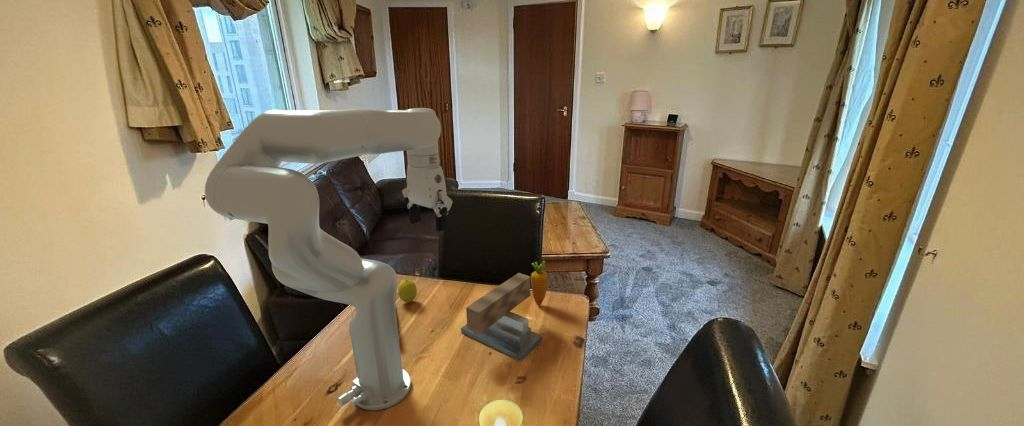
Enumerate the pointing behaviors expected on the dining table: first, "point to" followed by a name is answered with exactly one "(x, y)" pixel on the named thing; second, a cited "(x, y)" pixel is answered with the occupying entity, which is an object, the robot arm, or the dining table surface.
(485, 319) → the walnut beam
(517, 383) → the dining table surface
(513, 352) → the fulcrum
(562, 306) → the dining table surface
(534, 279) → the carrot
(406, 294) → the lemon
